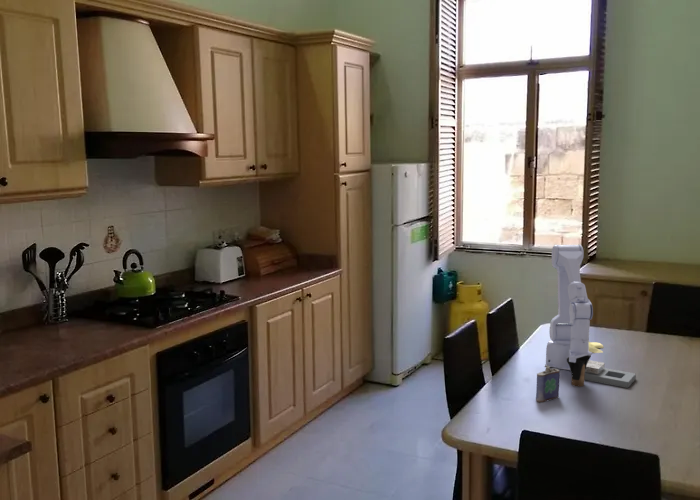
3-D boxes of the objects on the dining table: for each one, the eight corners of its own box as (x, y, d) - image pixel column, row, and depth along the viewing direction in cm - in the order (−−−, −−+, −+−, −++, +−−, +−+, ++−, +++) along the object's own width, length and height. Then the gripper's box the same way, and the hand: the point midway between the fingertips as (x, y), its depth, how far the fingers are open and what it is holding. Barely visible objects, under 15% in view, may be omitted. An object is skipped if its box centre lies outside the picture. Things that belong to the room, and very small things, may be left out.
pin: (569, 385, 223) (570, 364, 222) (573, 381, 226) (574, 361, 225) (581, 387, 220) (582, 367, 219) (585, 384, 224) (586, 363, 223)
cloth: (546, 350, 262) (547, 335, 261) (561, 339, 277) (562, 324, 276) (605, 360, 249) (606, 344, 248) (618, 348, 264) (619, 333, 263)
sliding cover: (575, 370, 230) (576, 364, 230) (582, 364, 236) (582, 359, 236) (598, 374, 226) (598, 368, 226) (604, 368, 232) (604, 362, 232)
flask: (539, 403, 208) (541, 369, 206) (532, 400, 210) (534, 367, 208) (560, 397, 212) (562, 364, 211) (553, 394, 215) (555, 362, 213)
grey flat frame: (572, 377, 230) (573, 371, 230) (581, 369, 238) (582, 364, 238) (628, 387, 220) (628, 382, 219) (635, 379, 228) (635, 373, 227)
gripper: (585, 345, 213) (583, 386, 215) (598, 334, 224) (596, 373, 226) (563, 341, 217) (561, 382, 219) (577, 331, 228) (575, 369, 230)
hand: (578, 377), depth 223 cm, fingers closed on pin, 4 cm apart
